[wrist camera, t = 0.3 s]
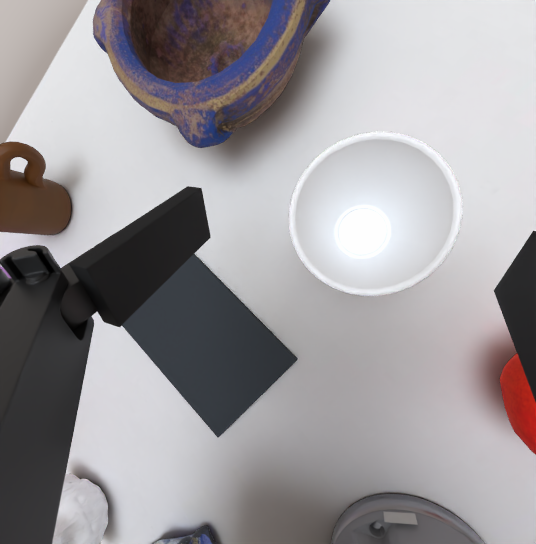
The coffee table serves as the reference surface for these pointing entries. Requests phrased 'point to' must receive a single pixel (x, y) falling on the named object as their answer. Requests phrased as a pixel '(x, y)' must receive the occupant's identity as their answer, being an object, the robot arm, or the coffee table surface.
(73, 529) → the bust
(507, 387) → the apple
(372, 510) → the robot arm
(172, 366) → the mat
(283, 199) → the coffee table surface
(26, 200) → the mug
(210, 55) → the bowl
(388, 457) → the coffee table surface
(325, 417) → the coffee table surface
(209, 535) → the snack package
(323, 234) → the cup
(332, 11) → the coffee table surface
